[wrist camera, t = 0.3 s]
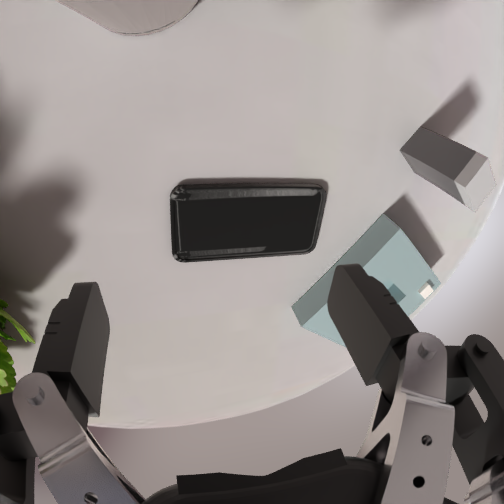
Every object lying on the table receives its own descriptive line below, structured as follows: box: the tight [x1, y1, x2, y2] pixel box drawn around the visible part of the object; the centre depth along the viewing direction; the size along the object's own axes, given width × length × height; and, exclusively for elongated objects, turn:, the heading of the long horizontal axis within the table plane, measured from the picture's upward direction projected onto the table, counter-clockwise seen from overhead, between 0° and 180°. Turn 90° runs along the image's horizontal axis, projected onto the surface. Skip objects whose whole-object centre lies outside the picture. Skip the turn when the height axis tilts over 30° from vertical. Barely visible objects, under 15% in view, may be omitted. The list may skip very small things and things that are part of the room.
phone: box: [170, 183, 326, 262], centre depth 31 cm, size 8×1×15 cm
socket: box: [292, 214, 441, 348], centre depth 39 cm, size 16×16×4 cm
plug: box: [400, 126, 497, 212], centre depth 27 cm, size 4×4×10 cm
